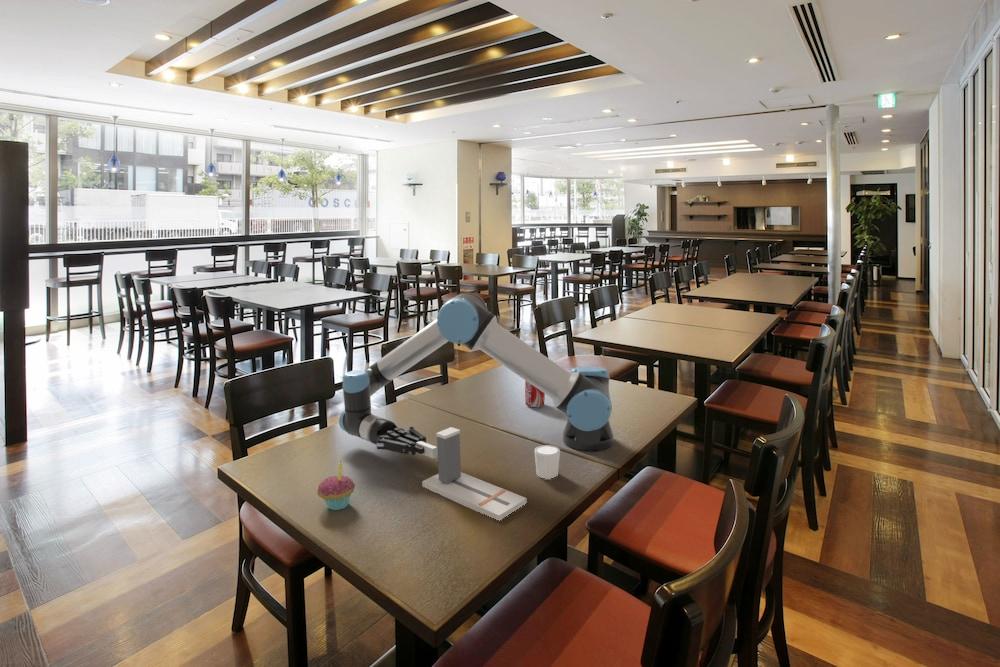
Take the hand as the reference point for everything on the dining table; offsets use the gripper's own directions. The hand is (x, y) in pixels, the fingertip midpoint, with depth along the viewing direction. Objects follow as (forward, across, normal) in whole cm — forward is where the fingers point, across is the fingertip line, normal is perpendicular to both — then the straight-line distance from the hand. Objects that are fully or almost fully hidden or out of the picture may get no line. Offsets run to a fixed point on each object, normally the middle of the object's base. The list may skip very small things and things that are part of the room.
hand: (435, 452), depth 142 cm
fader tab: (+5, -1, -6) cm, 8 cm away
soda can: (-15, -63, -8) cm, 65 cm away
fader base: (+13, -1, -8) cm, 15 cm away
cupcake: (-9, +24, -8) cm, 27 cm away
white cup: (+20, -21, -8) cm, 30 cm away
